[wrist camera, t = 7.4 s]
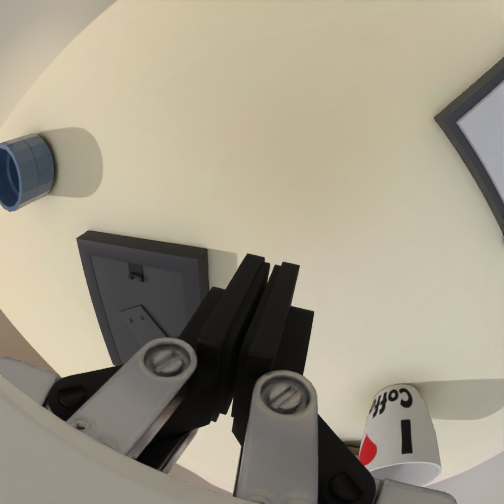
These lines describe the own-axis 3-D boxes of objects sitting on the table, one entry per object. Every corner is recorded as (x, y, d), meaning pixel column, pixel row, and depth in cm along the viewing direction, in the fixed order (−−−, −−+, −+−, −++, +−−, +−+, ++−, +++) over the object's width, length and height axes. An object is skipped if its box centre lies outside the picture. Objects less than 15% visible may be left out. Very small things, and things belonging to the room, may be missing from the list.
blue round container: (16, 156, 27) (-17, 168, 23) (40, 120, 24) (3, 129, 20) (39, 205, 29) (7, 222, 25) (66, 174, 26) (30, 190, 22)
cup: (416, 363, 26) (426, 452, 17) (441, 400, 27) (450, 477, 18) (346, 393, 29) (338, 477, 21) (380, 425, 31) (376, 498, 22)
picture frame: (215, 385, 34) (207, 248, 26) (208, 399, 32) (196, 261, 24) (120, 355, 37) (87, 229, 29) (112, 366, 35) (73, 239, 27)
